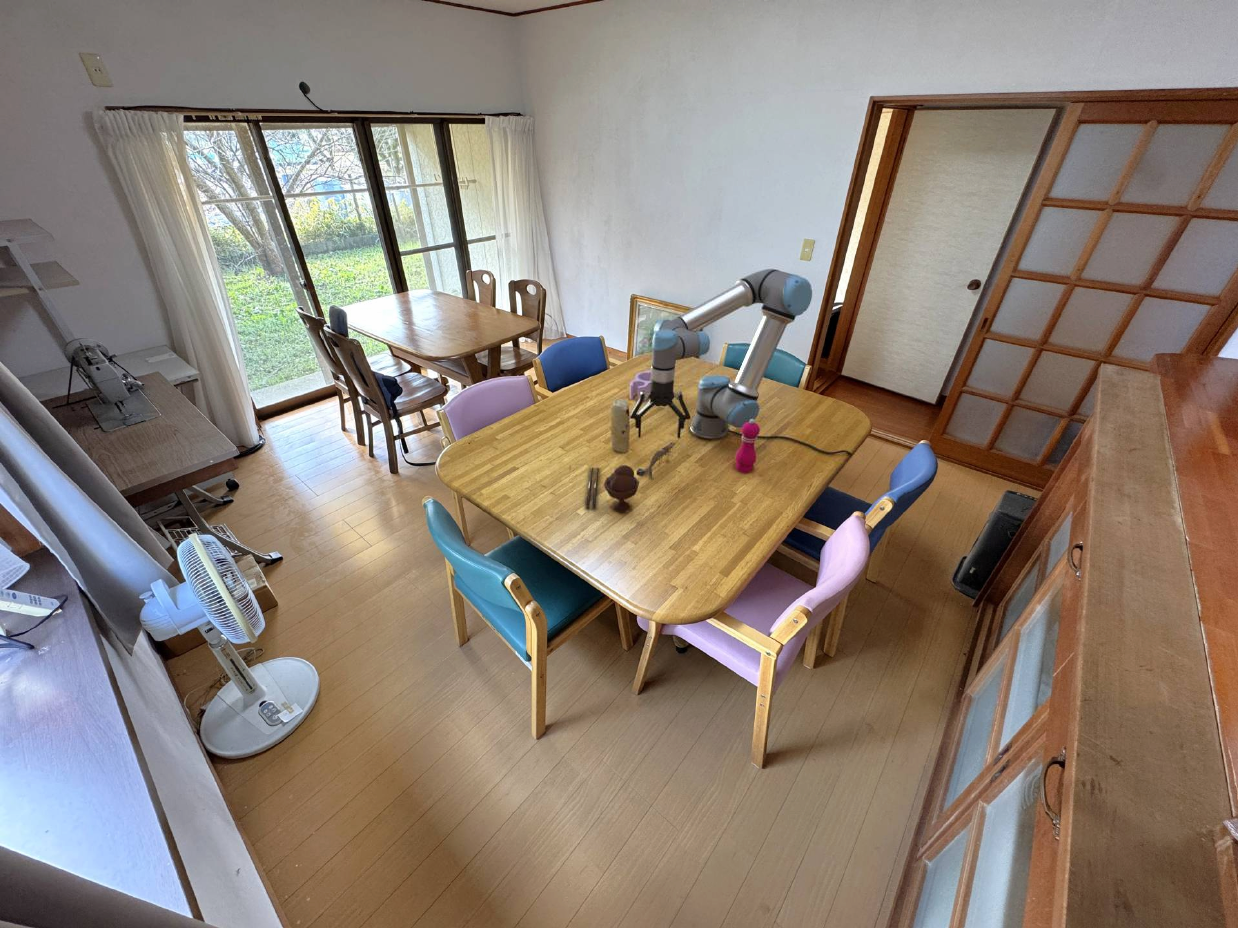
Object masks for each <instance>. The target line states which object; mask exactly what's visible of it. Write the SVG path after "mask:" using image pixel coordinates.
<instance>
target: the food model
mask: <svg viewBox="0 0 1238 928" xmlns="http://www.w3.org/2000/svg"><path fill="white" fill-rule="evenodd" d="M612 403H613V404H611V406H610V441H611V442H610V443H611V446H612V449H613V450H614V451H615V452H618V453H626V452H628V450H629V444H630V433H631V431H630V429H631V428H630V423H631V422H630V419H631V418H630V405H629V404H628V402H627V401H626V399H623V398H617V397H616V398H615V399H613V402H612Z"/></svg>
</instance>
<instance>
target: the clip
mask: <svg viewBox="0 0 1238 928" xmlns="http://www.w3.org/2000/svg"><path fill="white" fill-rule="evenodd" d="M650 386H651V369H647V371H641V372H637V373H636V374H635V376H634V379H633V380H631V381H630V382H629V400H632V401H633V400H634V396H637V401H638V400H639V398H640V394H641V391H644V393H649V392H650ZM648 399H649V397H647V398H646V399H645V400H644V401H646V400H648Z"/></svg>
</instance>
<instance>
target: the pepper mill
mask: <svg viewBox="0 0 1238 928" xmlns="http://www.w3.org/2000/svg"><path fill="white" fill-rule="evenodd" d="M760 432H761V429H760V426H759V424H758V423H756V419H755V420H754V419H751V420H750V421H749V422H747V423H745V424H744V425H743V427H742V428H741V434H743V435H742V436H741V440H742V442H741V445H740V447H739V448H738V450H737V451H736V454H735V466H734V467H735V469H736V470H737V471H738V472H739V473H742V474H743V473H746V474H748V473H751V472H753V470H754V464H755V463H756V462H757V453H756V450H755V449H756V448H755V444H756V443H755V442H757V439H758V438H757V436H759V434H760Z"/></svg>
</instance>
